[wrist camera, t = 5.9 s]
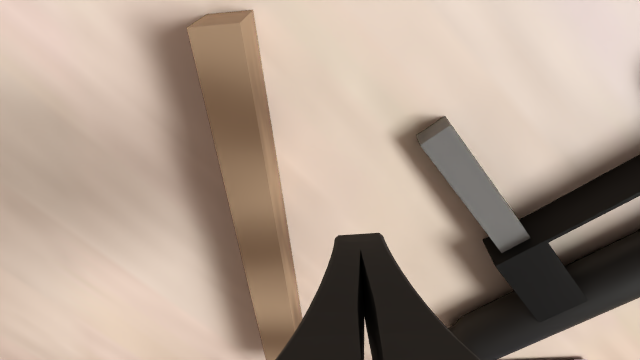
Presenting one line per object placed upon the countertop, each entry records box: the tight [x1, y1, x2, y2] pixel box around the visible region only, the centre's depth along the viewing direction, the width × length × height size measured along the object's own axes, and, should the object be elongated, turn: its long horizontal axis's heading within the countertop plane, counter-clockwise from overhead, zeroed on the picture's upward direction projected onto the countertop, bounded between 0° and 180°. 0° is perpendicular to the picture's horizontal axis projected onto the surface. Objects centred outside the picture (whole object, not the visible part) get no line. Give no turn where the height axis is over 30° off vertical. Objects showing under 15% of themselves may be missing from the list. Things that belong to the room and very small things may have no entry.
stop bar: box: [187, 10, 302, 360], centre depth 22 cm, size 22×2×3 cm, turn 5°
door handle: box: [416, 116, 640, 360], centre depth 22 cm, size 3×20×16 cm
